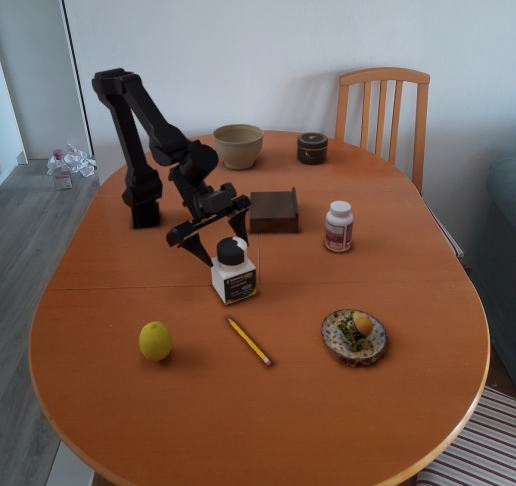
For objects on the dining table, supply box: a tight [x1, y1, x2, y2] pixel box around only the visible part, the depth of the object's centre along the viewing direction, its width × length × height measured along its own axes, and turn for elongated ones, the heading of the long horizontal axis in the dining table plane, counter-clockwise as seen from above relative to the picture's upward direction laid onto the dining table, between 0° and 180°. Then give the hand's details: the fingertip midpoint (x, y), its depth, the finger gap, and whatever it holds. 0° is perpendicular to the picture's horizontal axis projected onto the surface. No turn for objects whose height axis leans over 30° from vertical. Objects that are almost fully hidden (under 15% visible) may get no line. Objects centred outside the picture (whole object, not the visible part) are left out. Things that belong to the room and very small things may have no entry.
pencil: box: [227, 318, 273, 367], centre depth 81 cm, size 1×13×1 cm, turn 36°
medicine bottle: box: [210, 236, 257, 306], centre depth 91 cm, size 7×7×12 cm
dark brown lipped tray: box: [249, 186, 300, 234], centre depth 115 cm, size 12×13×6 cm
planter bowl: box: [212, 123, 265, 170], centre depth 143 cm, size 16×16×11 cm
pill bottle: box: [324, 200, 354, 253], centre depth 104 cm, size 6×6×11 cm
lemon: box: [138, 321, 173, 362], centre depth 77 cm, size 6×6×8 cm
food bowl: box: [320, 308, 388, 367], centre depth 80 cm, size 12×12×8 cm
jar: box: [296, 131, 329, 165], centre depth 146 cm, size 10×10×8 cm
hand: (230, 256), depth 90 cm, fingers open, 9 cm apart
